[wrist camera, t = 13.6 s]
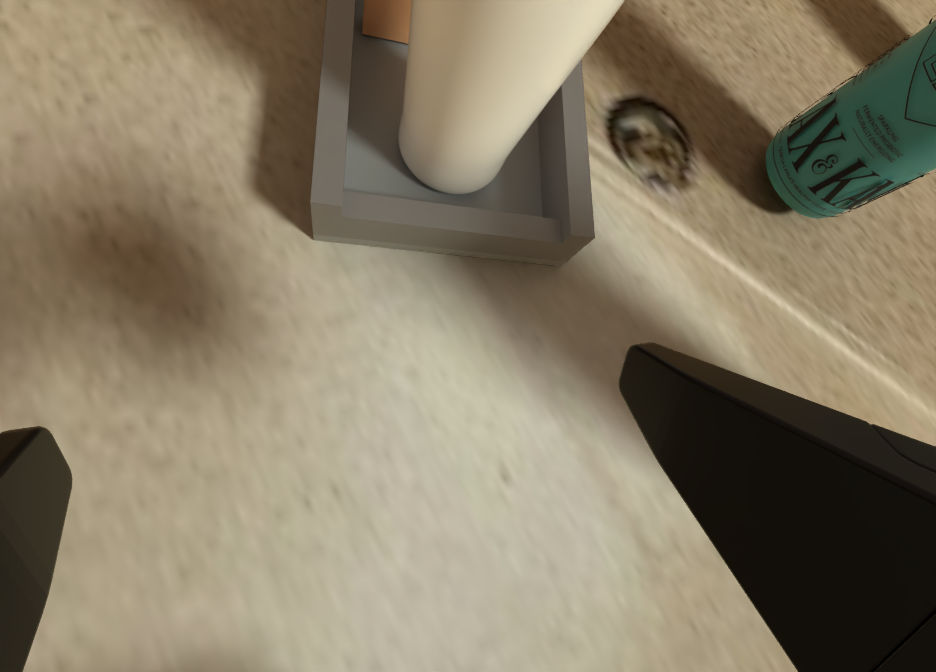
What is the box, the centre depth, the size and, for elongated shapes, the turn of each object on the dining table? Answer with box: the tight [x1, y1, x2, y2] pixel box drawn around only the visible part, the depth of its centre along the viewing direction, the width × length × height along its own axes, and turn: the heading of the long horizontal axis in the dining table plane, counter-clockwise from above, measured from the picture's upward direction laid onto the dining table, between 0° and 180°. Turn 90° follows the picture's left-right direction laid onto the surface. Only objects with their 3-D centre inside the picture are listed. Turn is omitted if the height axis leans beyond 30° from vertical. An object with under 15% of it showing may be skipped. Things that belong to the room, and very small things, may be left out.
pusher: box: [362, 0, 411, 44], centre depth 23 cm, size 1×9×5 cm, turn 90°
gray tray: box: [310, 0, 595, 266], centre depth 23 cm, size 18×12×6 cm
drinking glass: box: [398, 0, 625, 194], centre depth 17 cm, size 7×7×15 cm
